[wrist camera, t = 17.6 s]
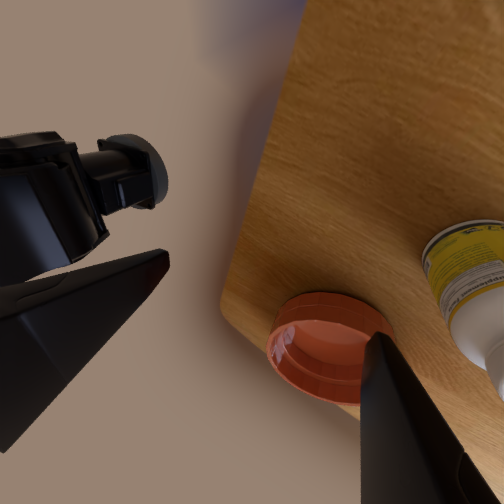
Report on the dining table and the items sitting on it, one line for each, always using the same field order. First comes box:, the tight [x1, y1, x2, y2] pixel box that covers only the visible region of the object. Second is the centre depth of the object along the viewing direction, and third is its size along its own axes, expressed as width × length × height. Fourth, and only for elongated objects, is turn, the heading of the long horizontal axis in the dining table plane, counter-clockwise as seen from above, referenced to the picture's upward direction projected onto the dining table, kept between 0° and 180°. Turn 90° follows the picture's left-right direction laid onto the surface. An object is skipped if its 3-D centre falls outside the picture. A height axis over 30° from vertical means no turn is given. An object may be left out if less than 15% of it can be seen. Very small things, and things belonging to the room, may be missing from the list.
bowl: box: [266, 292, 397, 406], centre depth 25 cm, size 13×13×4 cm
